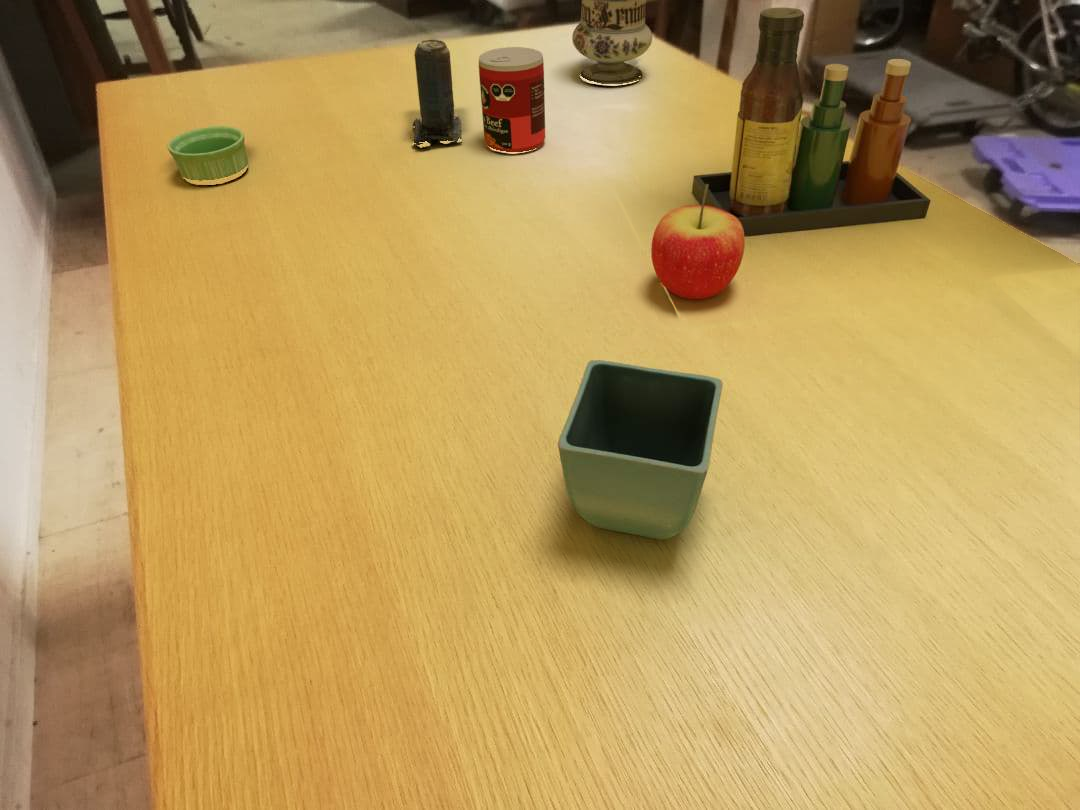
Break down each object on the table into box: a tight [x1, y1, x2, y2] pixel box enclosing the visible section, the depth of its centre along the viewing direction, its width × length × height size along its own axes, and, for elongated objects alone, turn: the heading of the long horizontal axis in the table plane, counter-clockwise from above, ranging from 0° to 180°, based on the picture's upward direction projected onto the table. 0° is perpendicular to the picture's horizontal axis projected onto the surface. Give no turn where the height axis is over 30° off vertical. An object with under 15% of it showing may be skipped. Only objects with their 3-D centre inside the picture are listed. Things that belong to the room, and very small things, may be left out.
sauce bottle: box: [729, 7, 805, 217], centre depth 79 cm, size 7×6×20 cm
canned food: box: [478, 46, 546, 152], centre depth 99 cm, size 8×8×11 cm
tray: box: [691, 160, 932, 238], centre depth 86 cm, size 22×11×2 cm, turn 99°
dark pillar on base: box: [412, 39, 462, 147], centre depth 102 cm, size 9×8×12 cm
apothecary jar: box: [571, 0, 653, 84], centre depth 116 cm, size 12×12×18 cm
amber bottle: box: [841, 58, 912, 206], centre depth 82 cm, size 5×5×14 cm
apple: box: [650, 184, 746, 300], centre depth 71 cm, size 8×8×10 cm
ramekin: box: [166, 125, 249, 181], centre depth 97 cm, size 9×9×4 cm
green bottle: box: [786, 63, 852, 211], centre depth 82 cm, size 5×5×14 cm
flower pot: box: [557, 359, 723, 541], centre depth 51 cm, size 9×9×9 cm
